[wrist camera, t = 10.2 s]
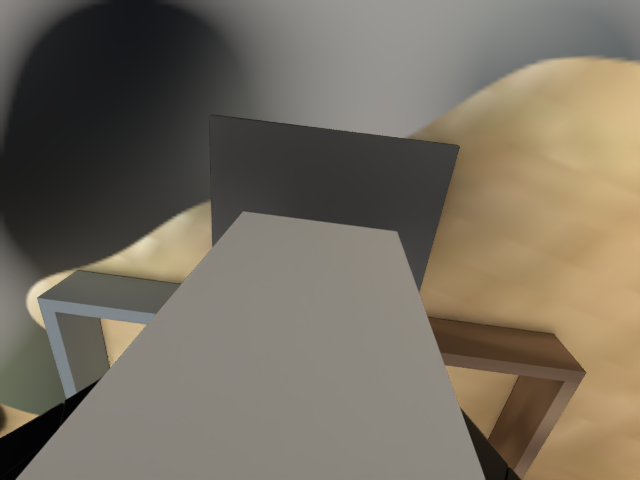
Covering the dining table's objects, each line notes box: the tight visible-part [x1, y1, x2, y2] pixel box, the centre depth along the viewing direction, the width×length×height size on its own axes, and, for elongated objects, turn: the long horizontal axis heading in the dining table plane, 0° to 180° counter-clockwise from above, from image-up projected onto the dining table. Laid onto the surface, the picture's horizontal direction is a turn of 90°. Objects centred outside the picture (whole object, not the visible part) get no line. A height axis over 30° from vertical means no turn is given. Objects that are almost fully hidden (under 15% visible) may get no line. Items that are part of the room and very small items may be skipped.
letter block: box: [16, 211, 485, 480], centre depth 7 cm, size 5×5×10 cm
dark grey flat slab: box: [209, 115, 460, 292], centre depth 18 cm, size 9×12×1 cm
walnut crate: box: [428, 318, 586, 479], centre depth 22 cm, size 14×14×3 cm
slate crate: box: [37, 270, 181, 399], centre depth 22 cm, size 14×14×3 cm
